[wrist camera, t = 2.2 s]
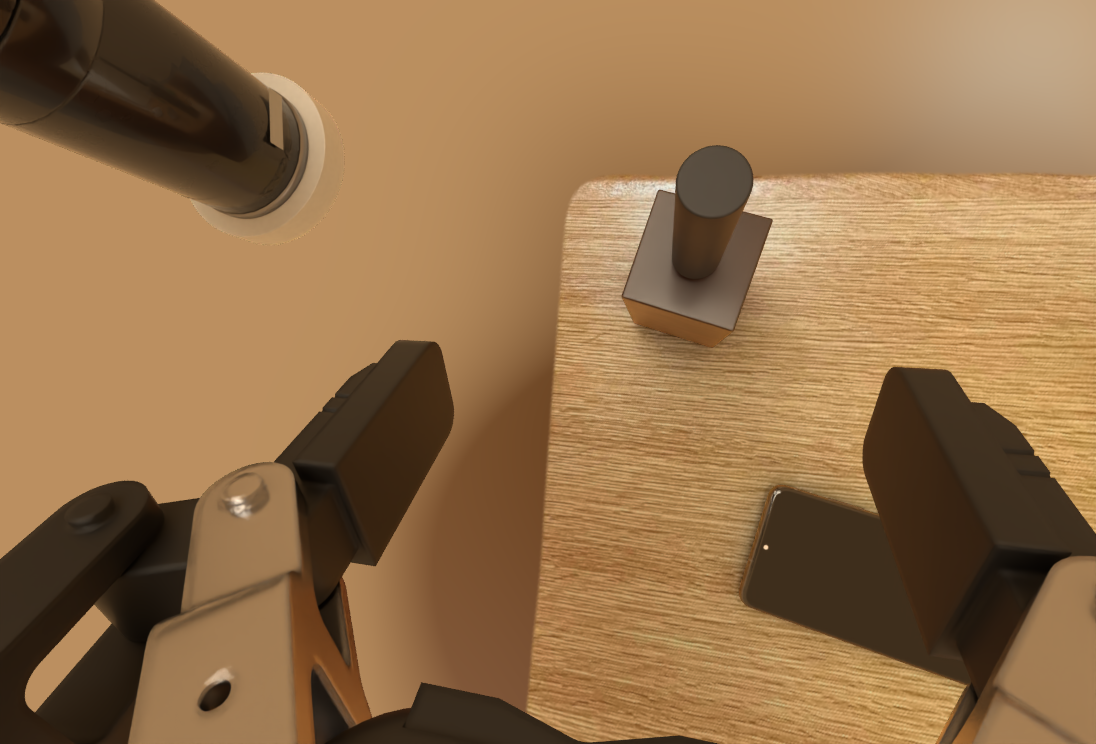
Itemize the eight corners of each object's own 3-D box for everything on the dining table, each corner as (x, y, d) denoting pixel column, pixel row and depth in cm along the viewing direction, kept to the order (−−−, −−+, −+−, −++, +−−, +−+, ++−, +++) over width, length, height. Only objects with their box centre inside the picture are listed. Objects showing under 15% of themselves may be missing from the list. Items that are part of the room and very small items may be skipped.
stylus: (663, 269, 23) (662, 199, 15) (685, 228, 23) (699, 132, 15) (704, 290, 23) (730, 230, 14) (728, 248, 23) (768, 162, 14)
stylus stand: (633, 323, 34) (621, 297, 24) (660, 246, 33) (658, 188, 24) (712, 348, 33) (733, 332, 23) (740, 269, 32) (773, 218, 23)
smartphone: (1051, 717, 28) (736, 604, 31) (1036, 705, 29) (733, 597, 32) (1096, 582, 27) (774, 481, 30) (1079, 574, 28) (770, 478, 31)
